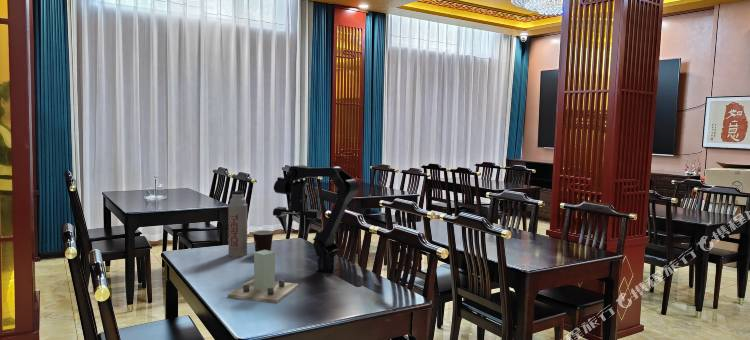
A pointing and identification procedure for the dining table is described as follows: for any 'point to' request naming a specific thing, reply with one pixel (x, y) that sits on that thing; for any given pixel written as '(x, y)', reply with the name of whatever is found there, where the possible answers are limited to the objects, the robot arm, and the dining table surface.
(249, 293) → the peg board
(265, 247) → the coffee mug
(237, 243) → the thermos bottle
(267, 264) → the sage block
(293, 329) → the dining table surface
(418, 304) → the dining table surface
